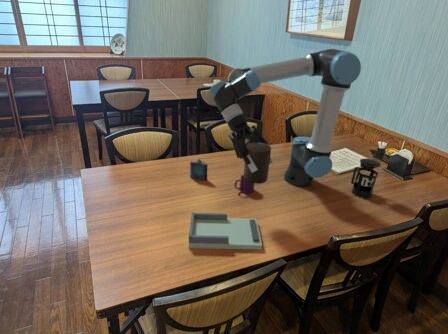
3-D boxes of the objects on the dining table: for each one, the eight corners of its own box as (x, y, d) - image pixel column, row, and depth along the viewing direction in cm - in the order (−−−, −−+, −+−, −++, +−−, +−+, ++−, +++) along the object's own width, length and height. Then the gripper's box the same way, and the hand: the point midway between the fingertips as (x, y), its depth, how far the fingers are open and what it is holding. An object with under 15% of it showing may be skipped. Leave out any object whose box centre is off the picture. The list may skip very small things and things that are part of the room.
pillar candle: (260, 186, 117) (265, 150, 111) (238, 179, 121) (241, 143, 115) (271, 177, 125) (276, 142, 118) (250, 170, 129) (253, 137, 123)
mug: (255, 192, 146) (257, 179, 143) (236, 195, 143) (237, 182, 140) (250, 185, 152) (251, 173, 149) (231, 188, 148) (232, 175, 146)
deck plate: (256, 222, 124) (257, 213, 122) (261, 249, 110) (262, 239, 108) (191, 221, 123) (191, 211, 121) (188, 248, 108) (188, 237, 107)
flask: (189, 177, 156) (189, 158, 152) (191, 175, 159) (191, 156, 154) (206, 181, 154) (206, 161, 149) (208, 178, 156) (208, 159, 152)
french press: (377, 196, 149) (390, 152, 139) (365, 201, 144) (378, 156, 134) (356, 185, 158) (367, 144, 148) (344, 189, 153) (355, 147, 143)
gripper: (247, 118, 131) (273, 163, 129) (209, 128, 117) (238, 180, 114) (258, 108, 126) (285, 155, 123) (220, 118, 111) (250, 172, 108)
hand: (263, 167), depth 119 cm, fingers closed on pillar candle, 10 cm apart
